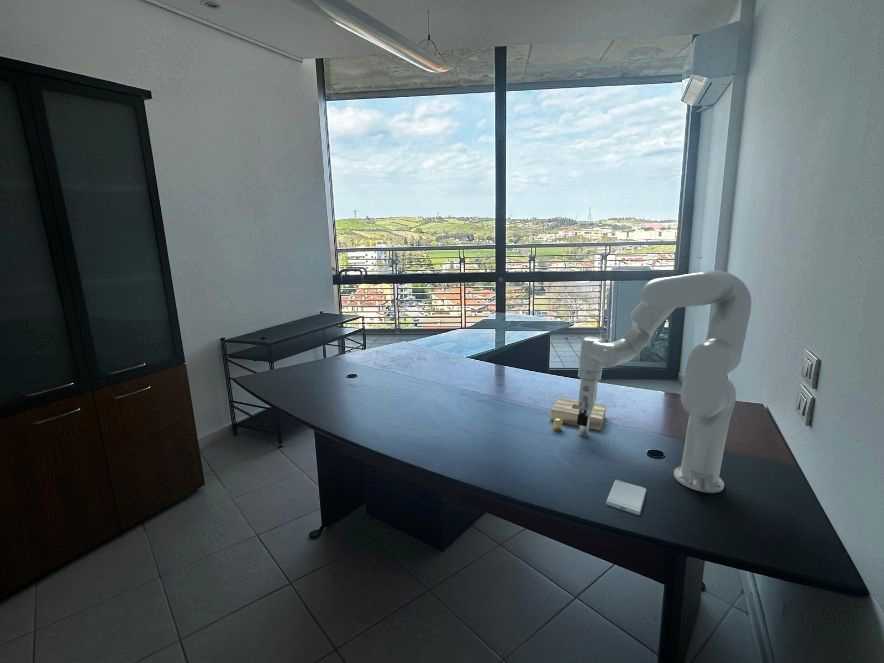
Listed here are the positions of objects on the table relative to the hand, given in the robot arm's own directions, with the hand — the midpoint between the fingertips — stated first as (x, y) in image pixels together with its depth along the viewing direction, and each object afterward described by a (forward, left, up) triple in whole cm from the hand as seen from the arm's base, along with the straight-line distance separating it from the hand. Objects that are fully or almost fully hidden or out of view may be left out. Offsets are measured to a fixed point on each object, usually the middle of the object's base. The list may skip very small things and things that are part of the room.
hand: (583, 420), depth 153 cm
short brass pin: (0, +9, -6) cm, 10 cm away
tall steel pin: (0, 0, -6) cm, 6 cm away
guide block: (+14, +4, -6) cm, 15 cm away
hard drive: (-34, -16, -6) cm, 38 cm away
